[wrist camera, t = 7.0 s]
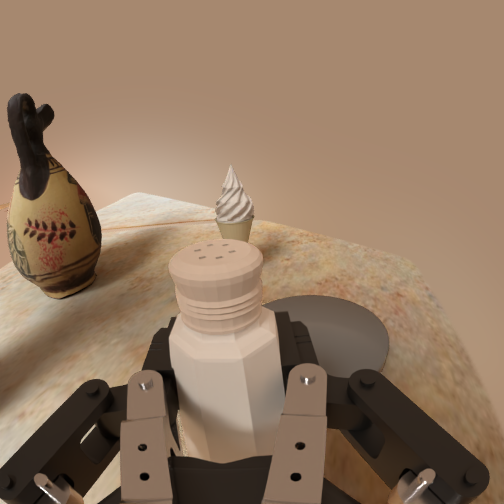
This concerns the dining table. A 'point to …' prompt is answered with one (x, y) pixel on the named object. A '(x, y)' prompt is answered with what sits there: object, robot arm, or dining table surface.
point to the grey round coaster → (339, 332)
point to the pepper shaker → (225, 352)
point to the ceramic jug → (48, 210)
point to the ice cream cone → (234, 209)
